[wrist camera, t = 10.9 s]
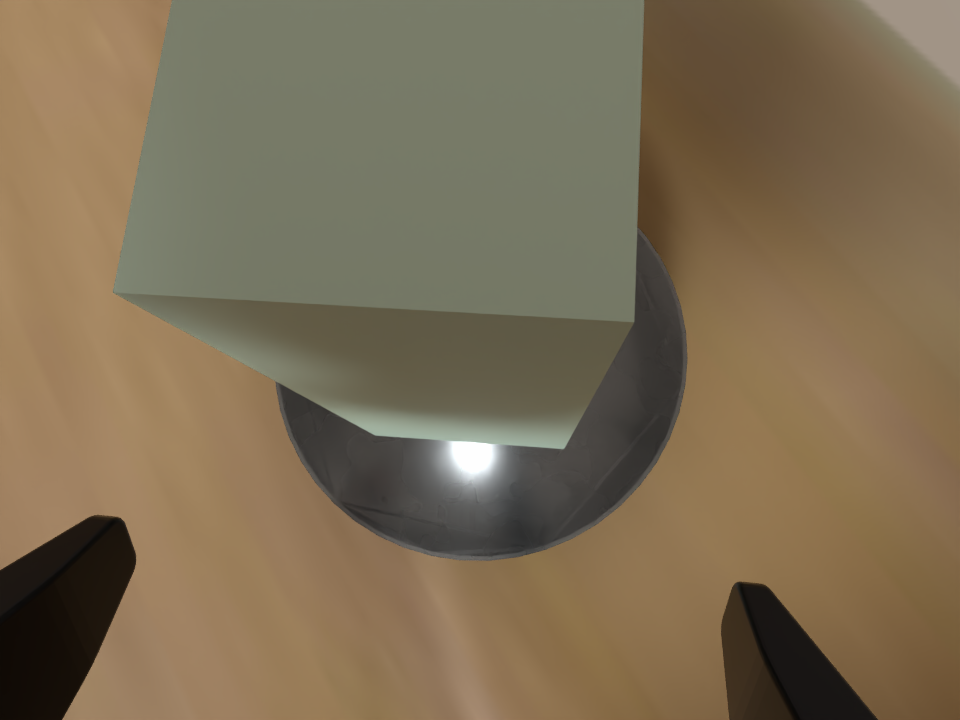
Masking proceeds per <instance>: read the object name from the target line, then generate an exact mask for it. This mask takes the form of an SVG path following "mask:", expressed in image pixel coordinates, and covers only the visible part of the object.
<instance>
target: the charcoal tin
mask: <svg viewBox="0 0 960 720" xmlns="http://www.w3.org/2000/svg"><path fill="white" fill-rule="evenodd" d="M686 369H687V344H686V330H685V325H684V320H683V315H682V310H681V305H680V302H679V299H678V297H677V294H676V291H675V288H674V285H673V282H672V280H671V278H670V276H669V274H668V272H667V270H666V268H665V266H664V264H663V262H662V260H661V258H660V256H659V255H658V253H657V252H656V250H655V249H654V247H653V246H652V244H651V243H650V241H649V240H648V239H647V237H646V236H645V235H644V234H643V232H642V231H641V230H640V229H639V228H638V227H637V251H636V283H635V315H634V324H633V325H632V327H631V329H630V331H629V333H628V334H627V336H626V338H625V340H624V342H623V344H622V345H621V347H620V349H619V351H618V353H617V354H616V356H615V358H614V360H613V362H612V363H611V365H610V367H609V369H608V371H607V372H606V374H605V376H604V378H603V380H602V381H601V383H600V385H599V387H598V389H597V390H596V392H595V394H594V396H593V398H592V399H591V401H590V403H589V405H588V407H587V409H586V410H585V412H584V414H583V416H582V418H581V419H580V421H579V423H578V425H577V427H576V428H575V430H574V432H573V434H572V436H571V437H570V439H569V441H568V443H567V445H566V446H565V448H564V449H556V448H542V447H528V446H514V445H500V444H486V443H472V442H459V441H445V440H431V439H417V438H403V437H389V436H375V435H373V434H372V433H370V432H368V431H366V430H364V429H362V428H360V427H359V426H357V425H355V424H353V423H351V422H349V421H348V420H346V419H344V418H342V417H340V416H338V415H337V414H335V413H333V412H331V411H329V410H327V409H326V408H324V407H322V406H320V405H318V404H316V403H315V402H313V401H311V400H309V399H307V398H305V397H304V396H302V395H300V394H298V393H296V392H294V391H293V390H291V389H289V388H287V387H285V386H283V385H282V384H280V383H278V382H276V389H277V395H278V400H279V405H280V411H281V414H282V417H283V420H284V423H285V426H286V429H287V432H288V435H289V438H290V440H291V442H292V444H293V446H294V448H295V450H296V452H297V454H298V456H299V458H300V460H301V462H302V463H303V465H304V466H305V468H306V469H307V471H308V472H309V474H310V475H311V477H312V478H313V480H314V481H315V483H316V484H317V485H318V486H319V487H320V488H321V489H322V490H323V492H324V493H325V494H326V495H327V496H328V497H329V498H330V499H331V501H332V502H333V503H334V504H335V505H337V506H338V507H339V508H340V509H341V510H342V511H344V512H345V513H346V514H347V515H348V516H350V517H351V518H352V519H353V520H354V521H356V522H357V523H359V524H360V525H362V526H364V527H365V528H367V529H368V530H370V531H371V532H373V533H375V534H376V535H378V536H380V537H382V538H384V539H386V540H388V541H391V542H393V543H395V544H397V545H399V546H402V547H404V548H407V549H410V550H414V551H417V552H421V553H424V554H427V555H431V556H436V557H443V558H449V559H456V560H485V561H489V560H497V559H506V558H514V557H520V556H523V555H527V554H531V553H535V552H539V551H542V550H546V549H548V548H551V547H553V546H556V545H558V544H560V543H563V542H565V541H568V540H570V539H572V538H574V537H576V536H578V535H579V534H581V533H583V532H584V531H586V530H588V529H590V528H591V527H593V526H595V525H596V524H598V523H599V522H600V521H602V520H603V519H604V518H605V517H607V516H608V515H609V514H611V513H612V512H613V511H614V510H616V509H617V508H618V507H619V506H621V505H622V503H623V502H624V501H625V500H626V499H627V498H628V497H629V496H630V495H631V494H632V493H633V492H634V491H635V490H636V489H637V488H638V487H639V486H640V485H641V483H642V482H643V480H644V479H645V478H646V476H647V475H648V474H649V472H650V471H651V470H652V468H653V467H654V465H655V464H656V463H657V461H658V459H659V457H660V455H661V453H662V451H663V450H664V448H665V446H666V444H667V442H668V440H669V438H670V436H671V433H672V430H673V428H674V425H675V422H676V420H677V417H678V414H679V411H680V407H681V402H682V398H683V393H684V389H685V381H686Z"/></svg>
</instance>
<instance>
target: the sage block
mask: <svg viewBox="0 0 960 720" xmlns="http://www.w3.org/2000/svg"><path fill="white" fill-rule="evenodd" d="M643 25H644V0H172V4H171V8H170V13H169V18H168V23H167V28H166V33H165V38H164V43H163V48H162V53H161V58H160V63H159V68H158V72H157V77H156V82H155V87H154V92H153V97H152V102H151V107H150V112H149V117H148V122H147V127H146V132H145V136H144V141H143V146H142V151H141V156H140V161H139V166H138V171H137V176H136V181H135V186H134V191H133V196H132V200H131V205H130V210H129V215H128V220H127V225H126V230H125V235H124V240H123V245H122V250H121V255H120V260H119V264H118V269H117V274H116V279H115V284H114V289H113V293H115V294H116V295H118V296H120V297H122V298H124V299H126V300H127V301H129V302H131V303H133V304H135V305H137V306H138V307H140V308H142V309H144V310H146V311H148V312H149V313H151V314H153V315H155V316H157V317H159V318H160V319H162V320H164V321H166V322H168V323H170V324H171V325H173V326H175V327H177V328H179V329H181V330H182V331H184V332H186V333H188V334H190V335H192V336H193V337H195V338H197V339H199V340H201V341H203V342H204V343H206V344H208V345H210V346H212V347H214V348H215V349H217V350H219V351H221V352H223V353H225V354H227V355H228V356H230V357H232V358H234V359H236V360H238V361H239V362H241V363H243V364H245V365H247V366H249V367H250V368H252V369H254V370H256V371H258V372H260V373H261V374H263V375H265V376H267V377H269V378H271V379H272V380H274V381H276V382H278V383H280V384H282V385H283V386H285V387H287V388H289V389H291V390H293V391H294V392H296V393H298V394H300V395H302V396H304V397H305V398H307V399H309V400H311V401H313V402H315V403H316V404H318V405H320V406H322V407H324V408H326V409H327V410H329V411H331V412H333V413H335V414H337V415H338V416H340V417H342V418H344V419H346V420H348V421H349V422H351V423H353V424H355V425H357V426H359V427H360V428H362V429H364V430H366V431H368V432H370V433H372V434H373V435H375V436H389V437H403V438H417V439H431V440H445V441H459V442H472V443H486V444H500V445H514V446H528V447H542V448H556V449H564V448H565V446H566V445H567V443H568V441H569V439H570V437H571V436H572V434H573V432H574V430H575V428H576V427H577V425H578V423H579V421H580V419H581V418H582V416H583V414H584V412H585V410H586V409H587V407H588V405H589V403H590V401H591V399H592V398H593V396H594V394H595V392H596V390H597V389H598V387H599V385H600V383H601V381H602V380H603V378H604V376H605V374H606V372H607V371H608V369H609V367H610V365H611V363H612V362H613V360H614V358H615V356H616V354H617V353H618V351H619V349H620V347H621V345H622V344H623V342H624V340H625V338H626V336H627V334H628V333H629V331H630V329H631V327H632V325H633V324H634V315H635V283H636V251H637V219H638V186H639V154H640V122H641V90H642V58H643Z"/></svg>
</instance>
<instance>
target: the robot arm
mask: <svg viewBox="0 0 960 720" xmlns="http://www.w3.org/2000/svg"><path fill="white" fill-rule="evenodd" d="M135 565H136V553H135V550H134V547H133V544H132V542H131V539H130V536H129V533H128V530H127V527H126V524H125V522H124V521H123V520H122V519H121V518H119V517H113V516H104V515H94V516H91V517H89V518H87V519H85V520H83V521H82V522H80V523H78V524H77V525H75V526H73V527H72V528H70V529H68V530H67V531H65V532H63V533H62V534H60V535H58V536H57V537H55V538H53V539H52V540H50V541H48V542H47V543H45V544H43V545H41V546H40V547H38V548H36V549H35V550H33V551H31V552H30V553H28V554H26V555H25V556H23V557H21V558H20V559H18V560H16V561H15V562H13V563H11V564H10V565H8V566H6V567H5V568H3V569H1V570H0V720H62V719H63V717H64V715H65V714H66V712H67V710H68V708H69V707H70V705H71V703H72V701H73V699H74V698H75V696H76V694H77V692H78V690H79V689H80V687H81V685H82V683H83V682H84V680H85V678H86V676H87V674H88V672H89V670H90V668H91V667H92V665H93V662H94V660H95V658H96V656H97V654H98V652H99V650H100V648H101V645H102V643H103V641H104V638H105V636H106V634H107V632H108V629H109V627H110V625H111V622H112V620H113V618H114V615H115V613H116V611H117V609H118V606H119V604H120V602H121V599H122V597H123V595H124V593H125V590H126V588H127V586H128V583H129V581H130V579H131V577H132V574H133V572H134V569H135ZM721 636H722V647H723V657H724V668H725V678H726V688H727V699H728V709H729V719H730V720H878V719H877V718H876V717H875V715H874V714H873V713H872V712H871V711H870V709H869V708H868V707H867V706H866V705H865V703H864V702H863V701H862V700H861V699H860V697H859V696H858V695H857V694H856V692H855V691H854V690H853V689H852V688H851V686H850V685H849V684H848V683H847V682H846V680H845V679H844V678H843V677H842V676H841V674H840V673H839V672H838V671H837V669H836V668H835V667H834V666H833V665H832V663H831V662H830V661H829V660H828V659H827V657H826V656H825V655H824V654H823V653H822V651H821V650H820V649H819V648H818V646H817V645H816V644H815V643H814V642H813V640H812V639H811V638H810V637H809V636H808V634H807V633H806V632H805V631H804V630H803V628H802V627H801V626H800V625H799V623H798V622H797V621H796V620H795V619H794V617H793V616H792V615H791V614H790V613H789V611H788V610H787V609H786V608H785V607H784V605H783V604H782V603H781V602H780V600H779V599H778V598H777V597H776V596H775V594H774V593H773V592H772V591H771V590H770V589H769V588H768V587H767V586H766V585H764V584H759V583H749V582H737V583H735V584H734V585H733V587H732V590H731V593H730V596H729V599H728V603H727V606H726V609H725V612H724V615H723V619H722V626H721Z"/></svg>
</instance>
